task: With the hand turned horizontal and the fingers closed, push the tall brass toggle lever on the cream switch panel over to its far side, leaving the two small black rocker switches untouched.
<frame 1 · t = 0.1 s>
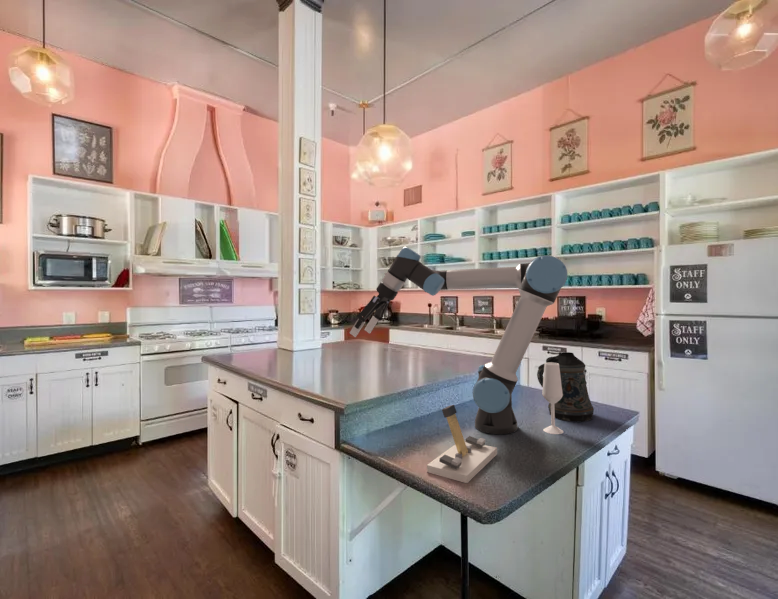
hand: (360, 333, 145), 36 cm above the counter, tool tilted 35°, fingers open, 13 cm apart
rocker a: (450, 460, 106), point 4 cm above the counter, hinge at 10.0°
beer stein: (567, 416, 154), on the counter
champagne flute: (553, 431, 137), on the counter
switch panel: (463, 462, 113), on the counter
brass lever: (456, 430, 114), point 9 cm above the counter, hinge at -20.0°
rocker b: (475, 440, 120), point 4 cm above the counter, hinge at 10.0°
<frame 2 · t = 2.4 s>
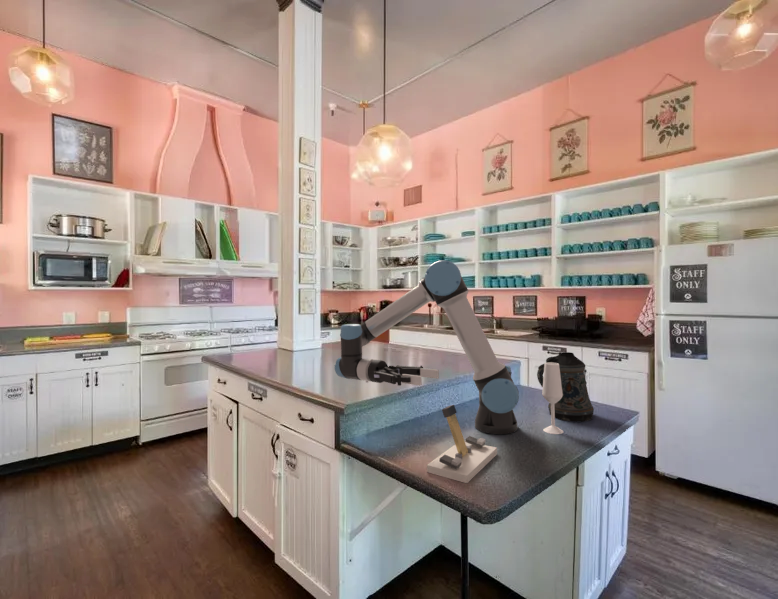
hand: (429, 377, 119), 24 cm above the counter, tool horizontal, fingers open, 10 cm apart
nothing on the counter moved.
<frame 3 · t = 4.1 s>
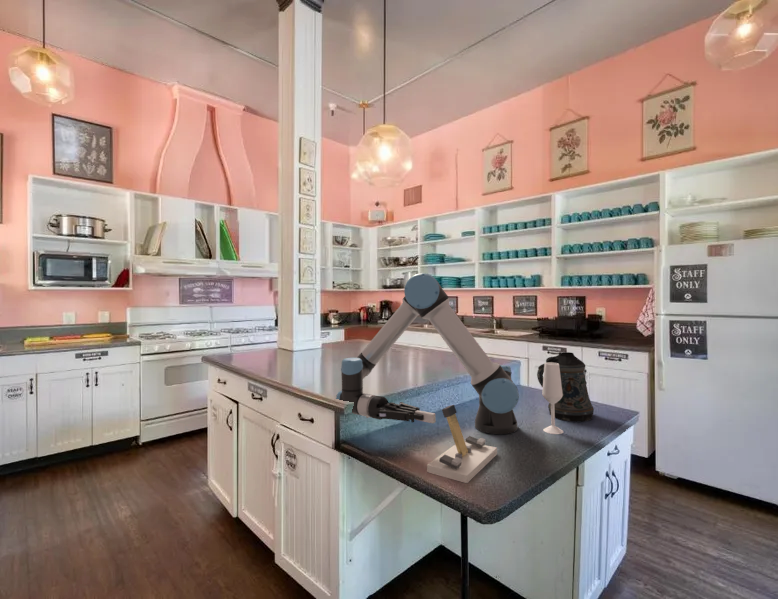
hand: (434, 418, 119), 11 cm above the counter, tool horizontal, fingers closed
nothing on the counter moved.
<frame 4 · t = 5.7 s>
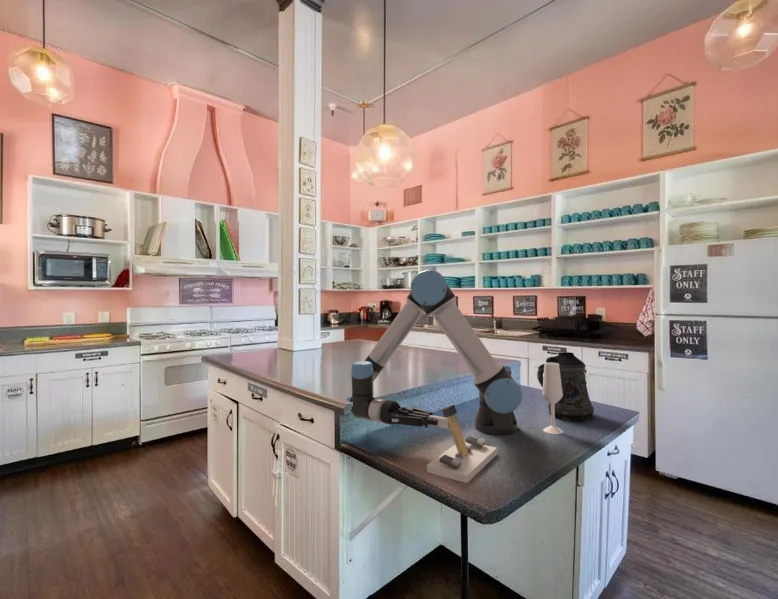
hand: (448, 423, 115), 11 cm above the counter, tool horizontal, fingers closed
brass lever: (456, 430, 114), point 9 cm above the counter, hinge at -19.8°, touching gripper
everything else where it was.
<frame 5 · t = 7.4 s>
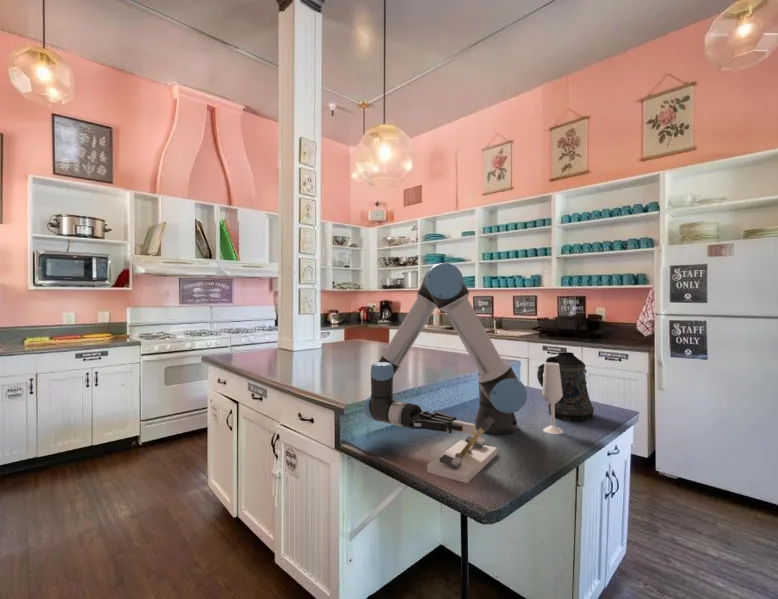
hand: (474, 429, 111), 11 cm above the counter, tool horizontal, fingers closed
brass lever: (475, 437, 111), point 8 cm above the counter, hinge at 36.7°, touching gripper
everything else where it was.
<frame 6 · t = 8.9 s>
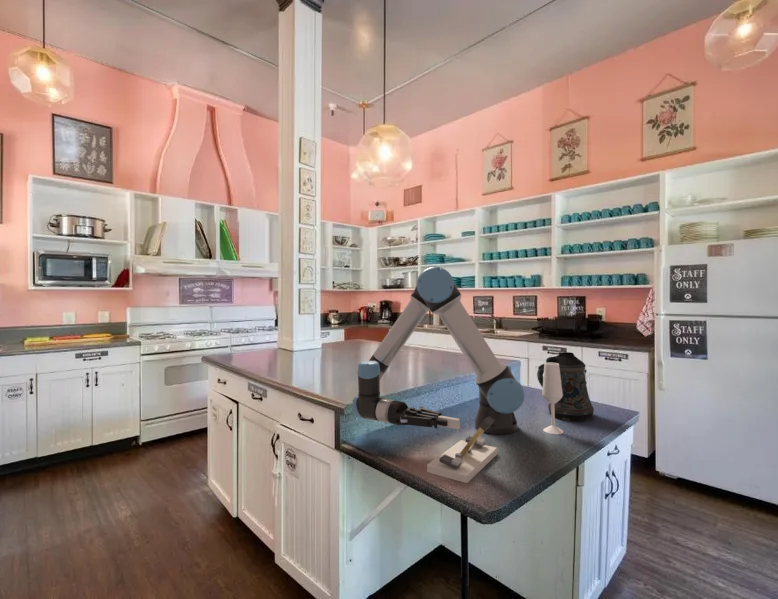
hand: (458, 424, 114), 11 cm above the counter, tool horizontal, fingers closed
brass lever: (475, 437, 111), point 8 cm above the counter, hinge at 36.3°
everything else where it was.
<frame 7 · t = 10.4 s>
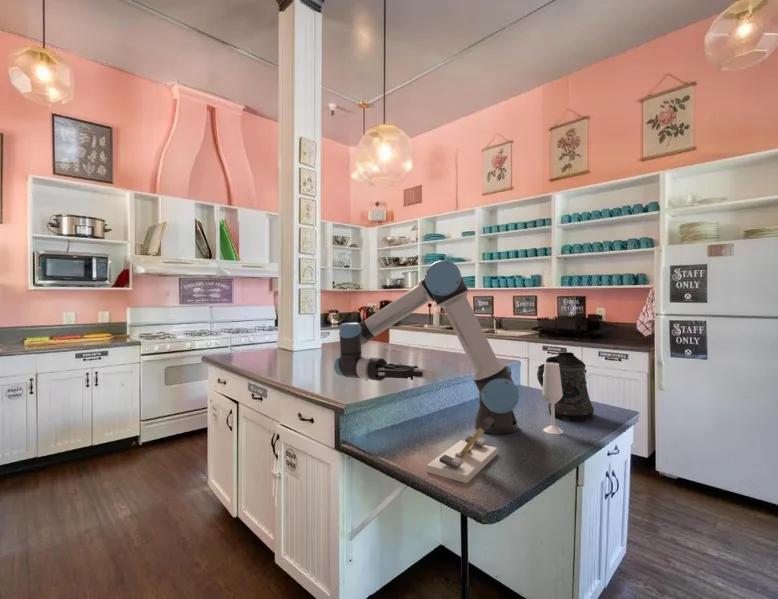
hand: (433, 374, 119), 25 cm above the counter, tool horizontal, fingers closed
nothing on the counter moved.
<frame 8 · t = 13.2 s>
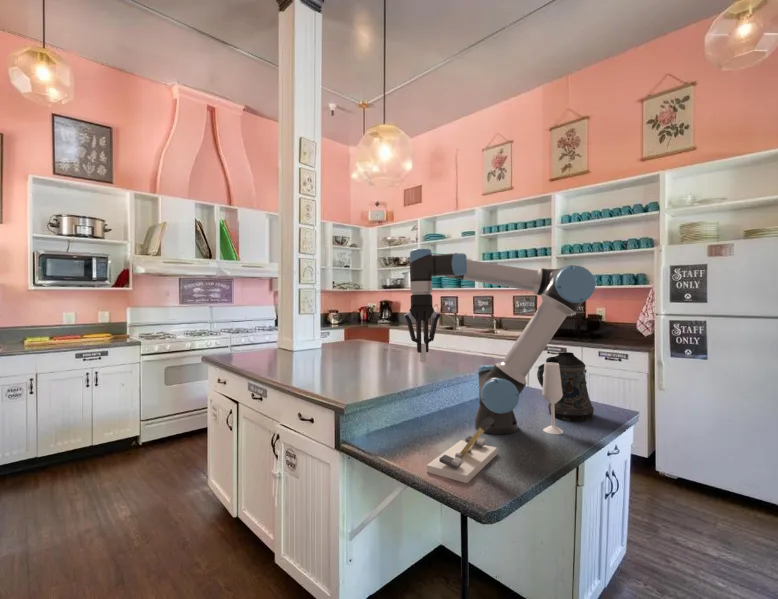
hand: (423, 361, 134), 26 cm above the counter, tool pointing down, fingers closed
nothing on the counter moved.
at the end: brass lever at +36° (first picture: -20°); rocker a at +10° (first picture: +10°); rocker b at +10° (first picture: +10°) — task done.
